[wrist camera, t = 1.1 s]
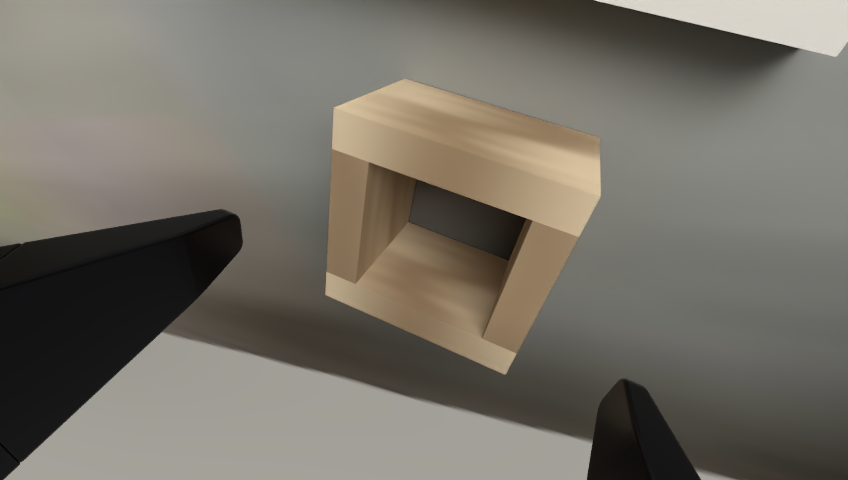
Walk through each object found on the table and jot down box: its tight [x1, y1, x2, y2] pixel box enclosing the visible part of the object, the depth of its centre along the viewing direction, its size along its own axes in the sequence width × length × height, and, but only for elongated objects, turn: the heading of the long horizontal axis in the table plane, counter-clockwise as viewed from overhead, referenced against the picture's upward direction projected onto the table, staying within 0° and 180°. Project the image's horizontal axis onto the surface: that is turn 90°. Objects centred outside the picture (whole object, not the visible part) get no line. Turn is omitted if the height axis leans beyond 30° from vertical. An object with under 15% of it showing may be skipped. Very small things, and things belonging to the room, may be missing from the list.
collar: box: [325, 79, 601, 375], centre depth 11 cm, size 6×6×4 cm
